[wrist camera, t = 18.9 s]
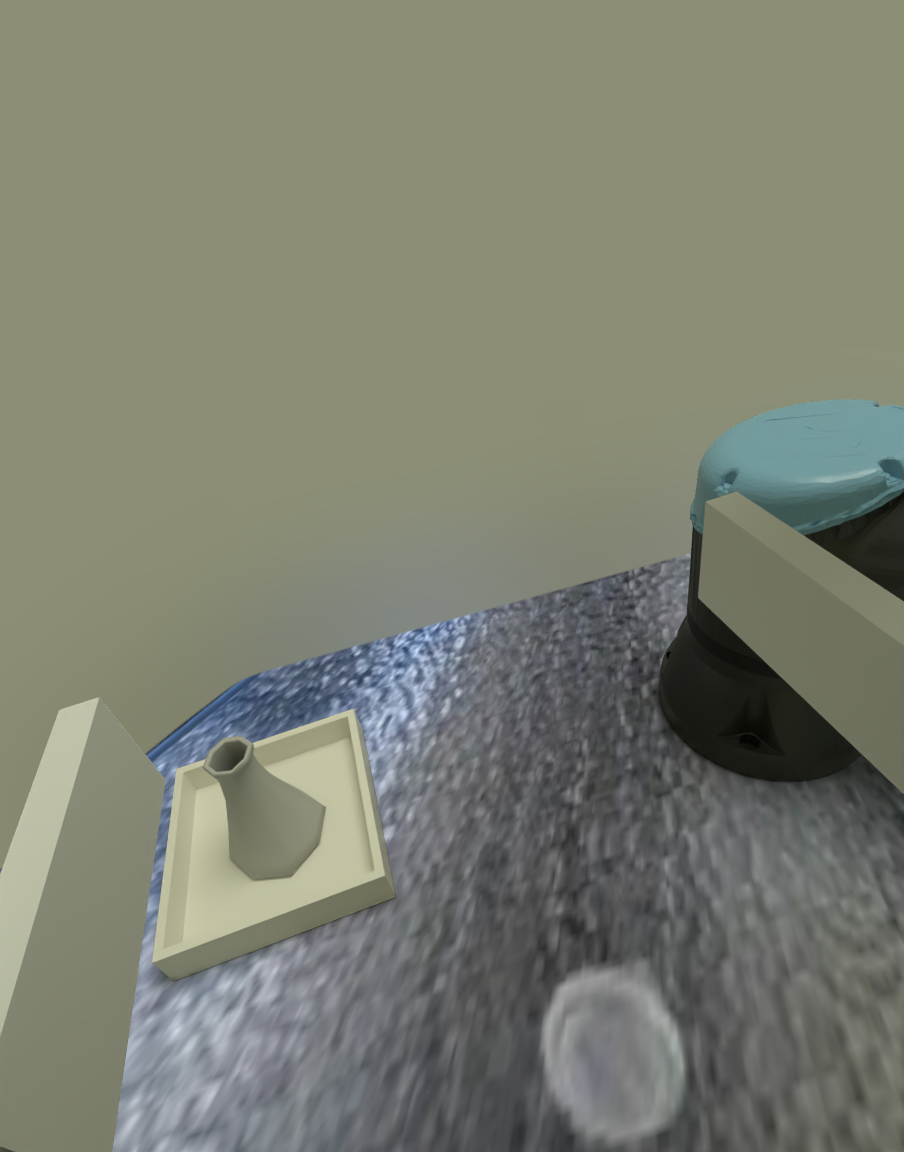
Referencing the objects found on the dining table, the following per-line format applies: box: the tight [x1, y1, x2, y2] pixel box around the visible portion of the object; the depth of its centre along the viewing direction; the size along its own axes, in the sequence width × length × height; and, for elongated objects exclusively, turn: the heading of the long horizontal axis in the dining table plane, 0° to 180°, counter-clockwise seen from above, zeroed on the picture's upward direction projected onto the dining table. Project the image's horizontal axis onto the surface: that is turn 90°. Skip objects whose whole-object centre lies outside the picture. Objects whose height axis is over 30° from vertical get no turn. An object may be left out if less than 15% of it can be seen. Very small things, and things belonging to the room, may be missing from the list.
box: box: [152, 709, 396, 981], centre depth 45 cm, size 15×15×3 cm
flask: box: [203, 736, 326, 879], centre depth 43 cm, size 7×7×10 cm
